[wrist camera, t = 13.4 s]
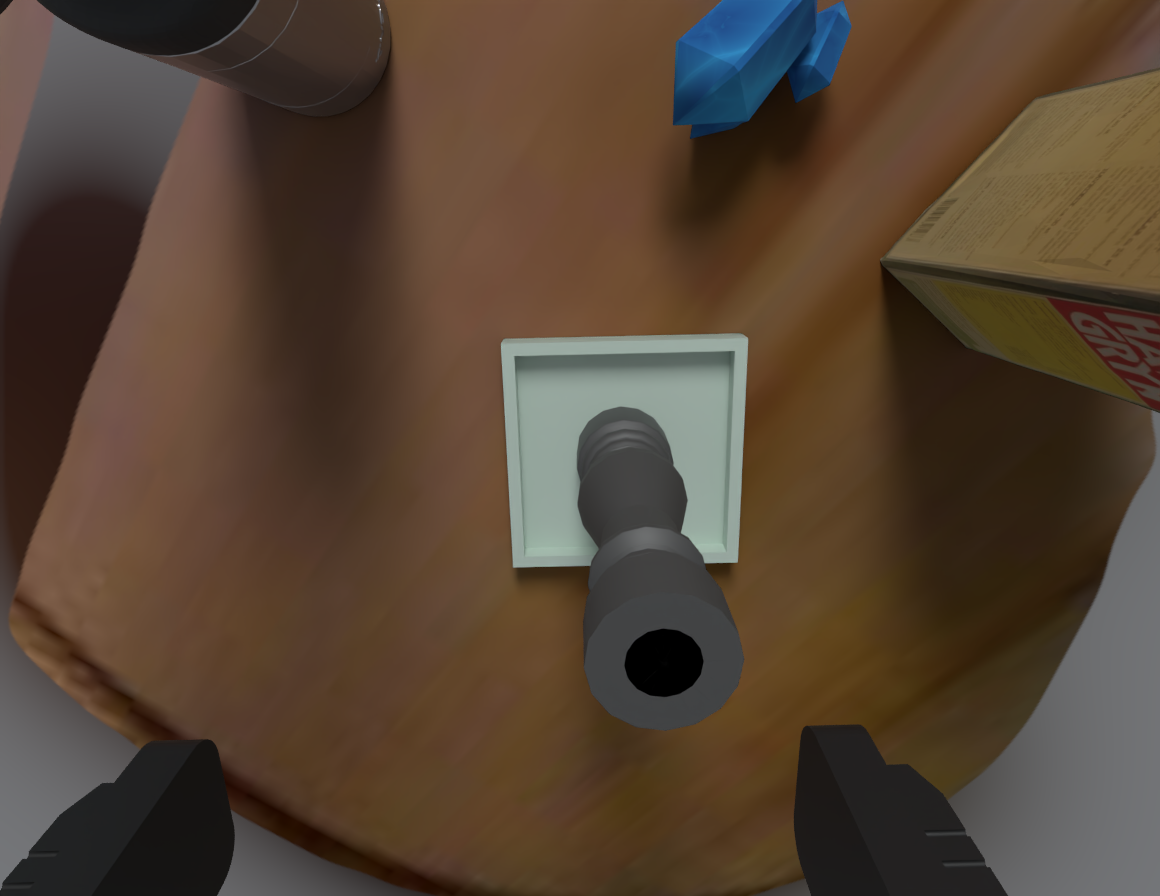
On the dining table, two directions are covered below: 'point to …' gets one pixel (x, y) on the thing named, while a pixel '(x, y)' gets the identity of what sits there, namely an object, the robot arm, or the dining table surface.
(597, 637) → the candle holder
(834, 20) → the crystal
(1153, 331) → the food packaging
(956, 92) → the dining table surface
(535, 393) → the tray
